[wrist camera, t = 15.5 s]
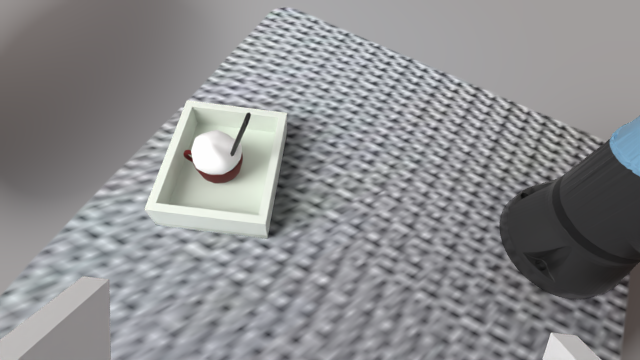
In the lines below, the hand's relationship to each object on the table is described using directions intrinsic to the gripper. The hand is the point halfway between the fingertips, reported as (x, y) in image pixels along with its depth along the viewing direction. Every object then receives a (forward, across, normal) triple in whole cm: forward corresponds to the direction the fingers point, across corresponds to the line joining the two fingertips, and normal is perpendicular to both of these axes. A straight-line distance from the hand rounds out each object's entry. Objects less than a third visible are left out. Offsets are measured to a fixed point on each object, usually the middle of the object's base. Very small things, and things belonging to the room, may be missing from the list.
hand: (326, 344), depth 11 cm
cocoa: (+38, -13, -5) cm, 41 cm away
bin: (+39, -13, -6) cm, 42 cm away
